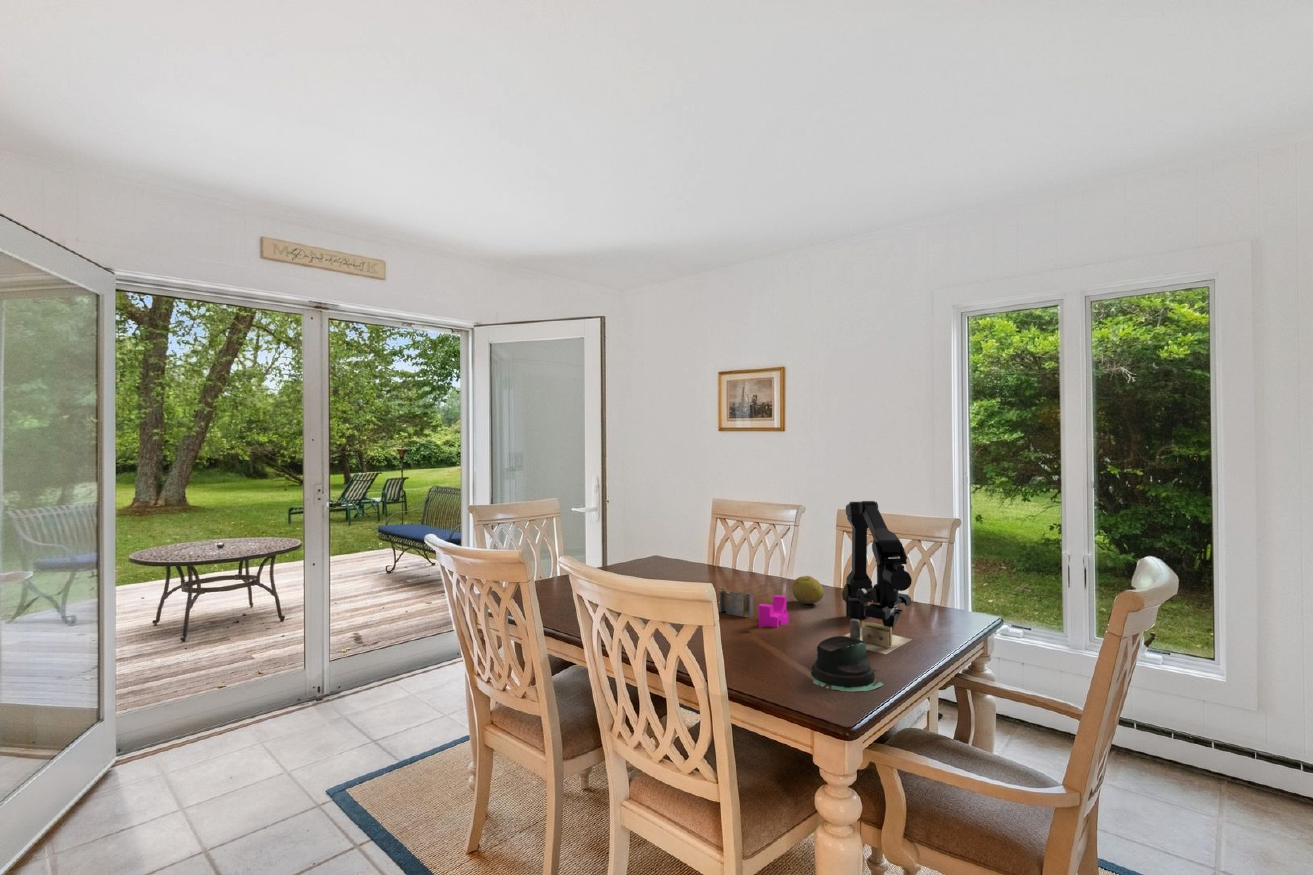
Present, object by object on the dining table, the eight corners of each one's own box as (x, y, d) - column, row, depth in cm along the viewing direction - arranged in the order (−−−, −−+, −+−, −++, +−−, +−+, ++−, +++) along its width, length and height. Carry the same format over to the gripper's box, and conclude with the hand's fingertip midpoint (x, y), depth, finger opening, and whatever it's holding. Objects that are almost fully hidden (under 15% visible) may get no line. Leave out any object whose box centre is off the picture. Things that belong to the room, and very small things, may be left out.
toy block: (777, 631, 191) (777, 608, 191) (758, 628, 194) (758, 605, 194) (793, 619, 204) (793, 597, 204) (776, 616, 207) (775, 594, 207)
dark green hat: (818, 657, 169) (818, 623, 169) (893, 672, 158) (892, 636, 158) (791, 681, 153) (791, 644, 153) (872, 699, 142) (872, 659, 142)
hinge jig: (833, 644, 178) (833, 621, 178) (861, 631, 190) (861, 609, 190) (885, 658, 167) (885, 633, 167) (912, 643, 178) (912, 620, 178)
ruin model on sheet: (719, 614, 211) (719, 586, 211) (723, 612, 214) (723, 584, 214) (749, 619, 205) (749, 590, 205) (753, 616, 208) (752, 588, 208)
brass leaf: (861, 639, 178) (861, 621, 178) (863, 638, 179) (863, 620, 179) (890, 646, 172) (890, 627, 172) (892, 645, 173) (892, 626, 173)
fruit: (793, 607, 217) (792, 579, 217) (791, 599, 228) (791, 572, 228) (825, 609, 215) (825, 580, 215) (821, 600, 227) (821, 573, 227)
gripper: (874, 570, 187) (876, 620, 187) (845, 583, 174) (847, 637, 174) (911, 576, 179) (912, 628, 179) (883, 590, 166) (885, 646, 166)
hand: (888, 634), depth 175 cm, fingers closed
